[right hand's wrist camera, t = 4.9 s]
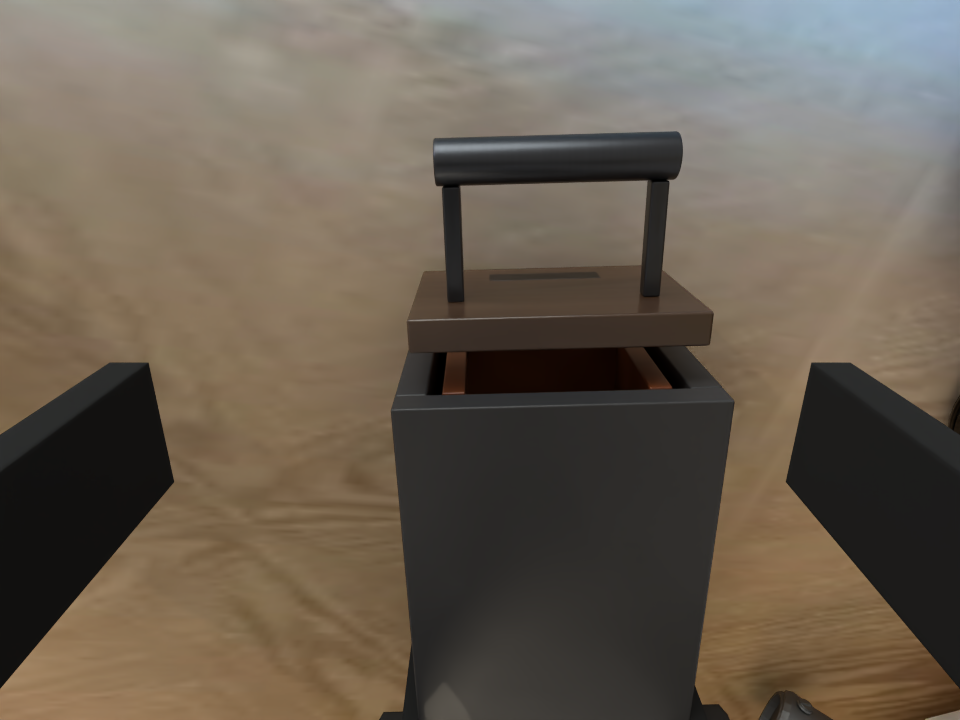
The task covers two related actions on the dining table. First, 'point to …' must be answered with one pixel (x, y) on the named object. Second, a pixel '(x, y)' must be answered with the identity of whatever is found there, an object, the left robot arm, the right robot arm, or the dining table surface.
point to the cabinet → (559, 543)
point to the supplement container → (955, 417)
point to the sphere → (810, 709)
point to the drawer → (555, 278)
